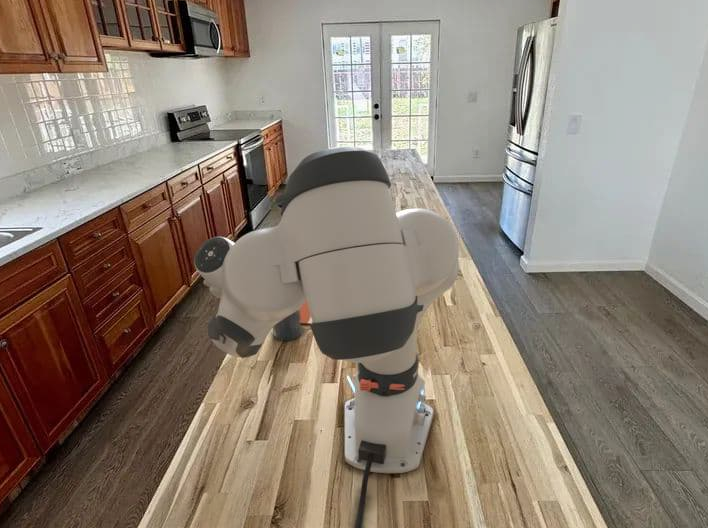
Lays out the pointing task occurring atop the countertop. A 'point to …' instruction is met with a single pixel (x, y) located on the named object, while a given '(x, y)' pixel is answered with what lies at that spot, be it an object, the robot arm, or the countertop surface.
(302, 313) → the cloth
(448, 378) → the countertop surface
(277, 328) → the cup
